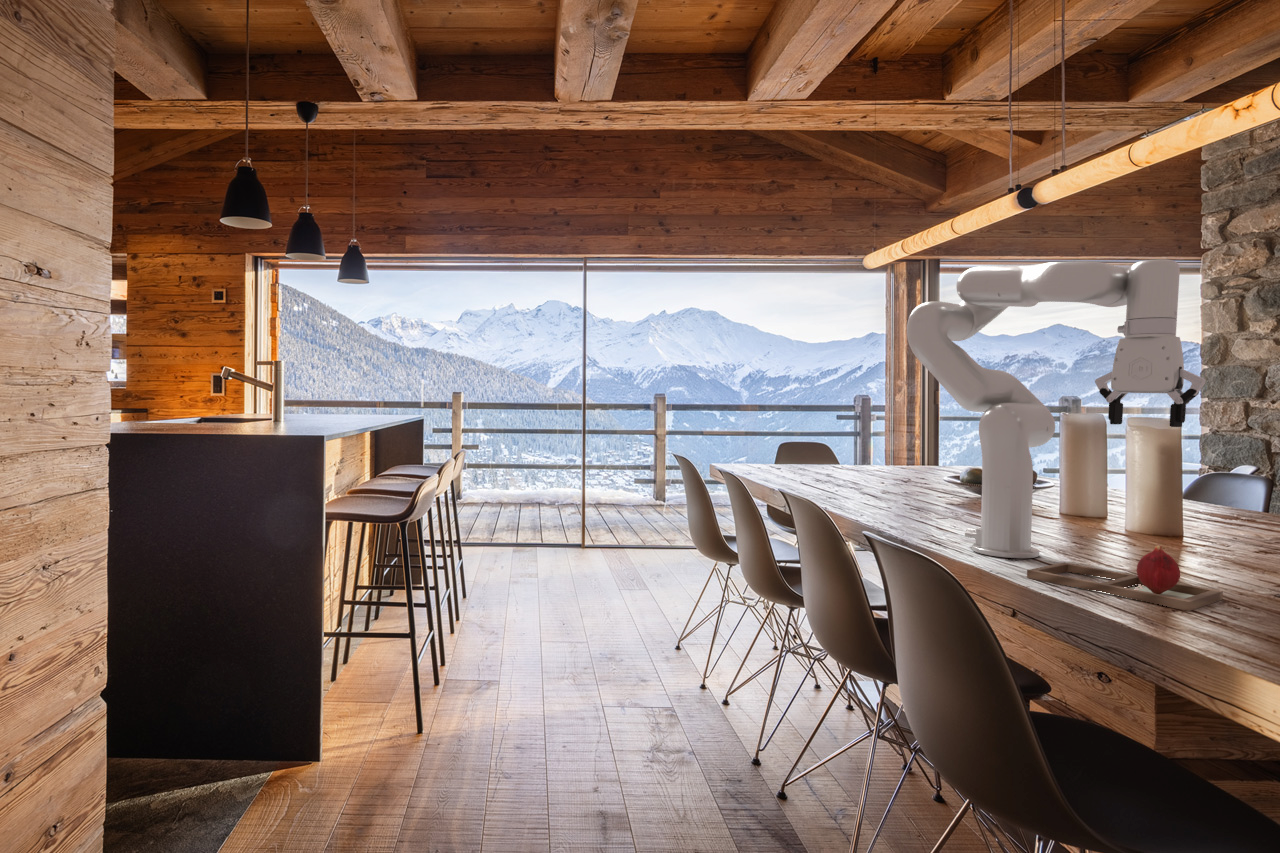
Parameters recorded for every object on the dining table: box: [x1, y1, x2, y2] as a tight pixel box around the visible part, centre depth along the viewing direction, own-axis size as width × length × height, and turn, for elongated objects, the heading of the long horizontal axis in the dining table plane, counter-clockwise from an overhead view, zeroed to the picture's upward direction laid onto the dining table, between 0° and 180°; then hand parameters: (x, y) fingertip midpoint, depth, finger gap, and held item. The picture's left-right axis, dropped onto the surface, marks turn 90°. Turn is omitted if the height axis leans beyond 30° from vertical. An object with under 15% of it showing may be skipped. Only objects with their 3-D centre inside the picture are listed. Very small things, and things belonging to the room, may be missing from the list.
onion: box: [1136, 545, 1181, 594], centre depth 118 cm, size 6×6×8 cm
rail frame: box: [1026, 562, 1224, 612], centre depth 123 cm, size 25×13×1 cm, turn 33°
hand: (1144, 425), depth 131 cm, fingers open, 9 cm apart
